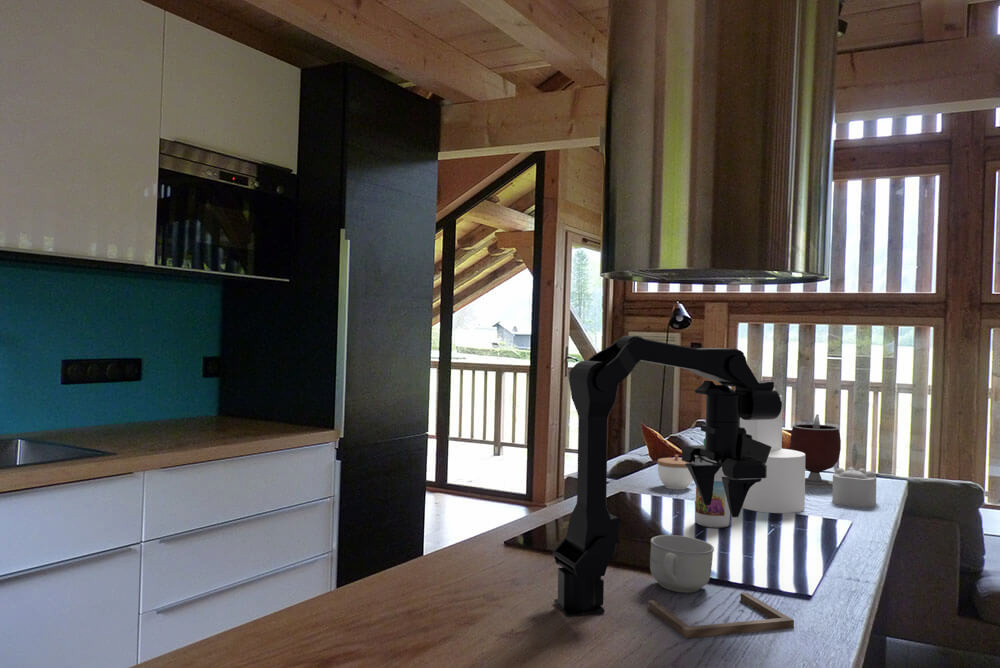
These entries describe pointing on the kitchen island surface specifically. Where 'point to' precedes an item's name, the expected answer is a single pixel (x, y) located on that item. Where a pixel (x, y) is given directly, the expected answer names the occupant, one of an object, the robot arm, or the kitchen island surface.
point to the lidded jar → (674, 473)
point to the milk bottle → (714, 505)
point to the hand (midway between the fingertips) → (720, 510)
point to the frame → (774, 623)
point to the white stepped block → (776, 471)
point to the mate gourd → (817, 450)
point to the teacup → (680, 562)
